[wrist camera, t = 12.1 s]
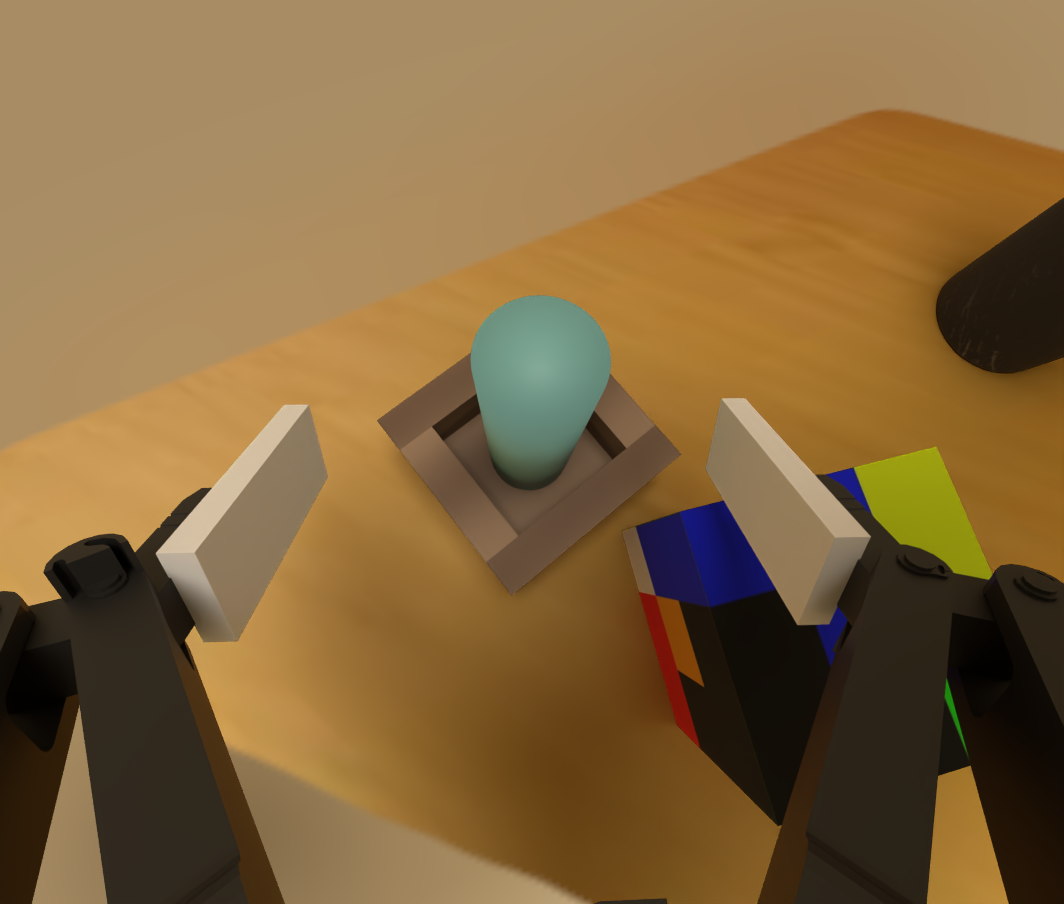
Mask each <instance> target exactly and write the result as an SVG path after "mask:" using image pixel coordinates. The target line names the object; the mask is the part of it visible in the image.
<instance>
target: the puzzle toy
mask: <svg viewBox="0 0 1064 904" xmlns="http://www.w3.org/2000/svg"><path fill="white" fill-rule="evenodd" d="M826 475H827V476H829V477H830V478H832V479H834V480H835V481H837V482H839V483H840V484H842V485H844V487H845V488H846V489H847V490H848V491H849V492H850V493H851V494H852V495H853V496H854V497H855V498H856V501H859V502H860V503H861V504H862V505H863V506H864V507H865V508H866V509H865V510H866V511H869V512H870V513H871V514H872V515H873V517H874V518H875V519H876V520H877V521H878V522H879V523H880V524H881V525H882V526H883V527H884V528H885V529H886V530H887V531H888V532H889V533H890V534H891V535H892V536H893V537H894V538H895V539H896V540H897V541H898V542H899V543H900V544H904V545H910V546H914V547H918V548H921V549H923V550H925V551H927V552H930V553H932V554H934V555H935V556H937V557H938V558H940V559H941V560H943V561H944V562H945V563H946V564H947V565H948V566H949V567H950V568H951V570H952V571H953V573H957V574H962V575H967V576H973V577H978V578H983V579H988V580H989V579H990V577H991V576H992V572H991V570H990V568H989V566H988V563H987V561H986V559H985V556H984V554H983V552H982V550H981V547H980V545H979V543H978V540H977V538H976V536H975V534H974V531H973V529H972V527H971V524H970V522H969V520H968V518H967V515H966V513H965V511H964V508H963V506H962V504H961V501H960V499H959V497H958V495H957V492H956V490H955V488H954V485H953V483H952V481H951V479H950V476H949V474H948V472H947V469H946V467H945V465H944V463H943V460H942V458H941V456H940V453H939V451H938V449H937V447H932V448H928V449H924V450H920V451H916V452H913V453H909V454H905V455H901V456H897V457H893V458H889V459H885V460H881V461H877V462H873V463H869V464H865V465H861V466H858V467H854V468H850V469H846V470H842V471H838V472H834V473H830V474H826ZM622 534H623V538H624V541H625V545H626V548H627V552H628V555H629V559H630V562H631V566H632V569H633V573H634V576H635V580H636V583H637V587H638V590H639V594H640V597H641V601H642V604H643V608H644V611H645V615H646V618H647V622H648V625H649V629H650V632H651V636H652V639H653V643H654V646H655V650H656V653H657V657H658V660H659V664H660V667H661V671H662V674H663V678H664V681H665V685H666V688H667V692H668V695H669V699H670V702H671V706H672V709H673V713H674V716H675V719H676V723H677V726H678V727H679V728H680V729H681V730H682V731H683V732H684V733H685V734H686V735H687V736H688V737H689V738H690V739H691V740H692V741H693V742H694V743H695V744H696V745H697V746H698V747H699V748H700V749H701V750H702V751H703V752H704V753H705V754H706V755H707V756H708V757H709V758H710V759H711V760H712V761H713V762H714V763H715V764H716V765H717V766H718V767H719V768H720V769H721V770H722V771H723V772H724V773H725V774H726V775H727V776H728V777H729V778H730V779H731V780H732V781H733V782H734V783H735V784H736V785H737V786H738V787H739V788H740V789H741V790H742V791H743V792H744V793H745V794H746V795H747V796H748V797H749V798H750V799H751V800H752V801H753V802H754V803H755V804H756V805H757V806H758V807H759V808H760V809H761V810H762V811H763V812H764V813H765V814H766V815H767V816H768V817H769V818H770V819H771V820H772V821H773V822H774V823H775V824H776V825H777V826H780V825H782V823H783V820H784V817H785V813H786V810H787V807H788V804H789V800H790V797H791V794H792V791H793V788H794V784H795V781H796V778H797V775H798V771H799V768H800V765H801V762H802V759H803V755H804V752H805V749H806V746H807V742H808V739H809V736H810V733H811V730H812V726H813V723H814V720H815V717H816V713H817V710H818V707H819V704H820V701H821V697H822V694H823V691H824V688H825V684H826V681H827V678H828V675H829V672H830V668H831V665H832V662H833V659H834V655H835V652H833V651H832V650H833V648H834V646H835V644H836V642H837V640H838V638H839V636H840V634H841V632H842V630H843V628H844V626H845V624H846V622H847V619H846V617H845V616H844V614H843V613H842V612H841V610H840V609H839V607H837V609H836V611H835V613H834V615H833V617H832V619H831V621H830V623H829V624H820V625H797V623H796V622H795V620H794V618H793V617H792V615H791V613H790V611H789V610H788V608H787V606H786V605H785V603H784V601H783V600H782V598H781V596H780V595H779V593H778V591H777V590H776V588H775V586H774V584H773V583H772V581H771V579H770V578H769V576H768V574H767V573H766V571H765V569H764V568H763V566H762V564H761V562H760V561H759V559H758V557H757V556H756V554H755V552H754V551H753V549H752V547H751V546H750V544H749V542H748V541H747V539H746V537H745V535H744V534H743V532H742V530H741V529H740V527H739V525H738V524H737V522H736V520H735V519H734V517H733V515H732V513H731V512H730V510H729V508H728V507H727V505H726V503H725V502H724V501H720V502H716V503H712V504H708V505H704V506H700V507H696V508H692V509H688V510H684V511H681V512H677V513H674V514H671V515H668V516H665V517H662V518H659V519H656V520H653V521H650V522H647V523H644V524H641V525H638V526H635V527H632V528H628V529H625V530H622ZM967 766H971V764H970V761H969V757H968V754H967V750H966V746H965V743H964V739H963V735H962V732H961V728H960V725H959V721H958V717H957V714H956V710H955V706H954V703H953V699H952V695H951V692H950V688H949V685H948V681H947V678H946V689H945V701H944V712H943V723H942V735H941V746H940V757H939V769H938V776H939V775H942V774H945V773H948V772H952V771H955V770H958V769H961V768H964V767H967Z"/></svg>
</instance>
